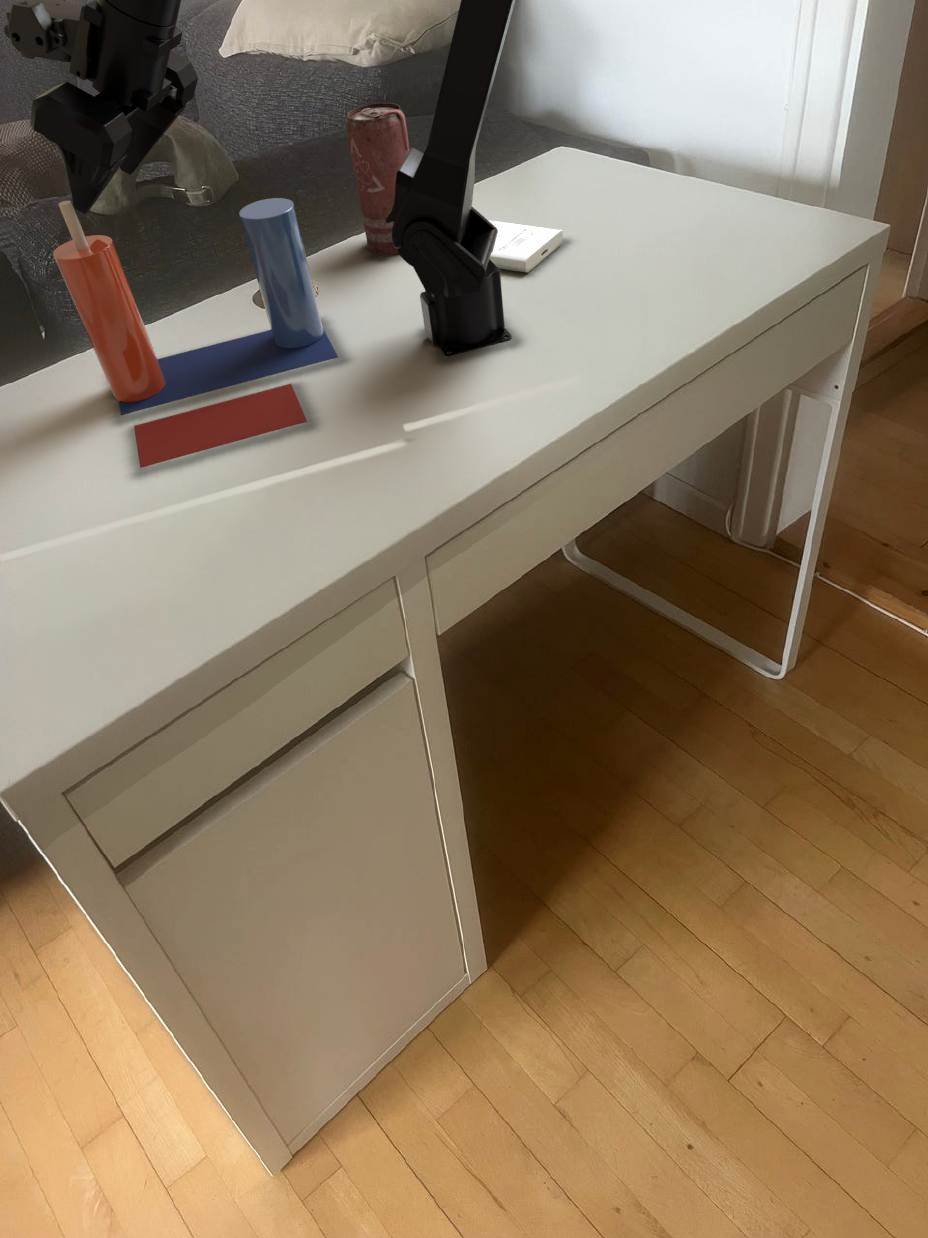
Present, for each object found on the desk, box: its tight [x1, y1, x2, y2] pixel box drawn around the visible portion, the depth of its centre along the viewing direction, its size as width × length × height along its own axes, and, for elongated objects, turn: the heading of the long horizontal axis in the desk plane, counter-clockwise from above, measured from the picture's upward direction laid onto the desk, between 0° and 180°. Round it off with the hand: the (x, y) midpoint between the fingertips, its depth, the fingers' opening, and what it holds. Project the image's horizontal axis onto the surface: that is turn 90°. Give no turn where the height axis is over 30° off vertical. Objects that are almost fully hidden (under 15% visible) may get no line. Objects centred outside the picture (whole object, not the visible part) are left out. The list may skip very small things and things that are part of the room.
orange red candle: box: [52, 200, 166, 402], centre depth 77 cm, size 5×5×16 cm
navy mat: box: [118, 328, 339, 416], centre depth 84 cm, size 20×9×1 cm, turn 109°
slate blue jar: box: [238, 197, 324, 348], centre depth 82 cm, size 5×5×12 cm
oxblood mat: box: [133, 383, 308, 468], centre depth 77 cm, size 14×7×1 cm, turn 109°
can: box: [345, 102, 411, 257], centre depth 96 cm, size 6×6×14 cm
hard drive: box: [487, 219, 564, 273], centre depth 97 cm, size 2×8×12 cm
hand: (104, 190), depth 79 cm, fingers open, 9 cm apart
